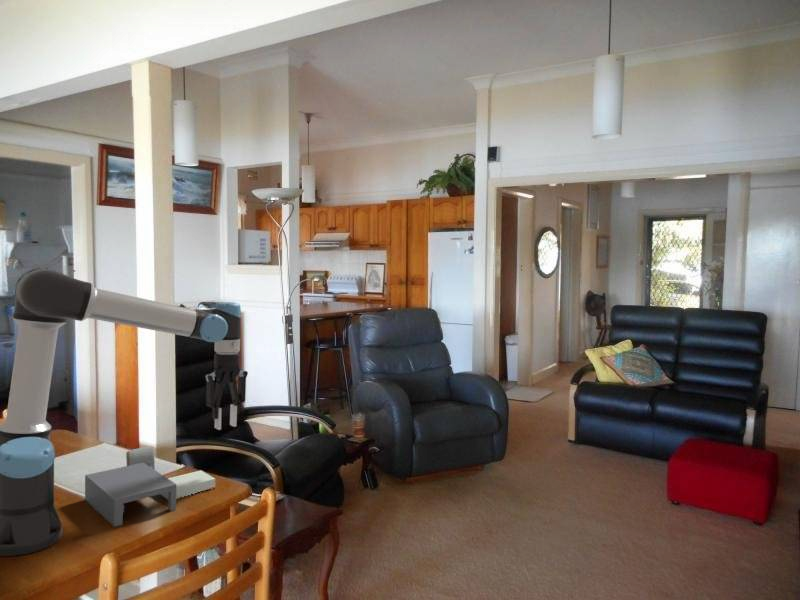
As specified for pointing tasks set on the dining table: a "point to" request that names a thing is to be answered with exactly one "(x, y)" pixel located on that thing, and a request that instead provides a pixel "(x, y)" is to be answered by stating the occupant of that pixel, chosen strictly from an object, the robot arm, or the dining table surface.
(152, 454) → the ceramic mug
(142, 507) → the dining table surface
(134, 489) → the low shelf
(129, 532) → the dining table surface
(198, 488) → the ribbed white block
